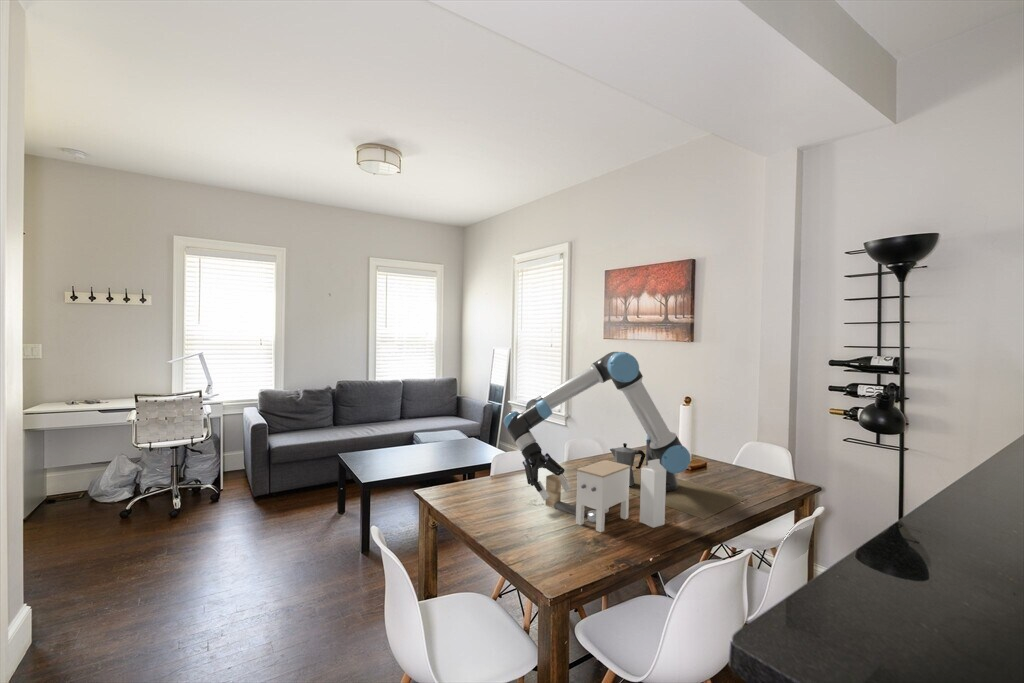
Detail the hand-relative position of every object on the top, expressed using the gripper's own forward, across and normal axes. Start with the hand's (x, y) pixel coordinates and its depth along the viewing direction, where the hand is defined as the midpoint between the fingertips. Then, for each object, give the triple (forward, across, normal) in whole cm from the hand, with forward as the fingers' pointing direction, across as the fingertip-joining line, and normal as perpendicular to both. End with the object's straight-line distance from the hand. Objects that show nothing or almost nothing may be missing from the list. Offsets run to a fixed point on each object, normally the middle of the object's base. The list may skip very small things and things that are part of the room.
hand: (558, 494), depth 170 cm
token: (+15, 0, +8) cm, 17 cm away
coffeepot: (+6, -45, -1) cm, 45 cm away
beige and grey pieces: (+6, 0, -1) cm, 6 cm away
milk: (+26, -12, +19) cm, 34 cm away
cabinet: (+16, -1, +10) cm, 19 cm away
